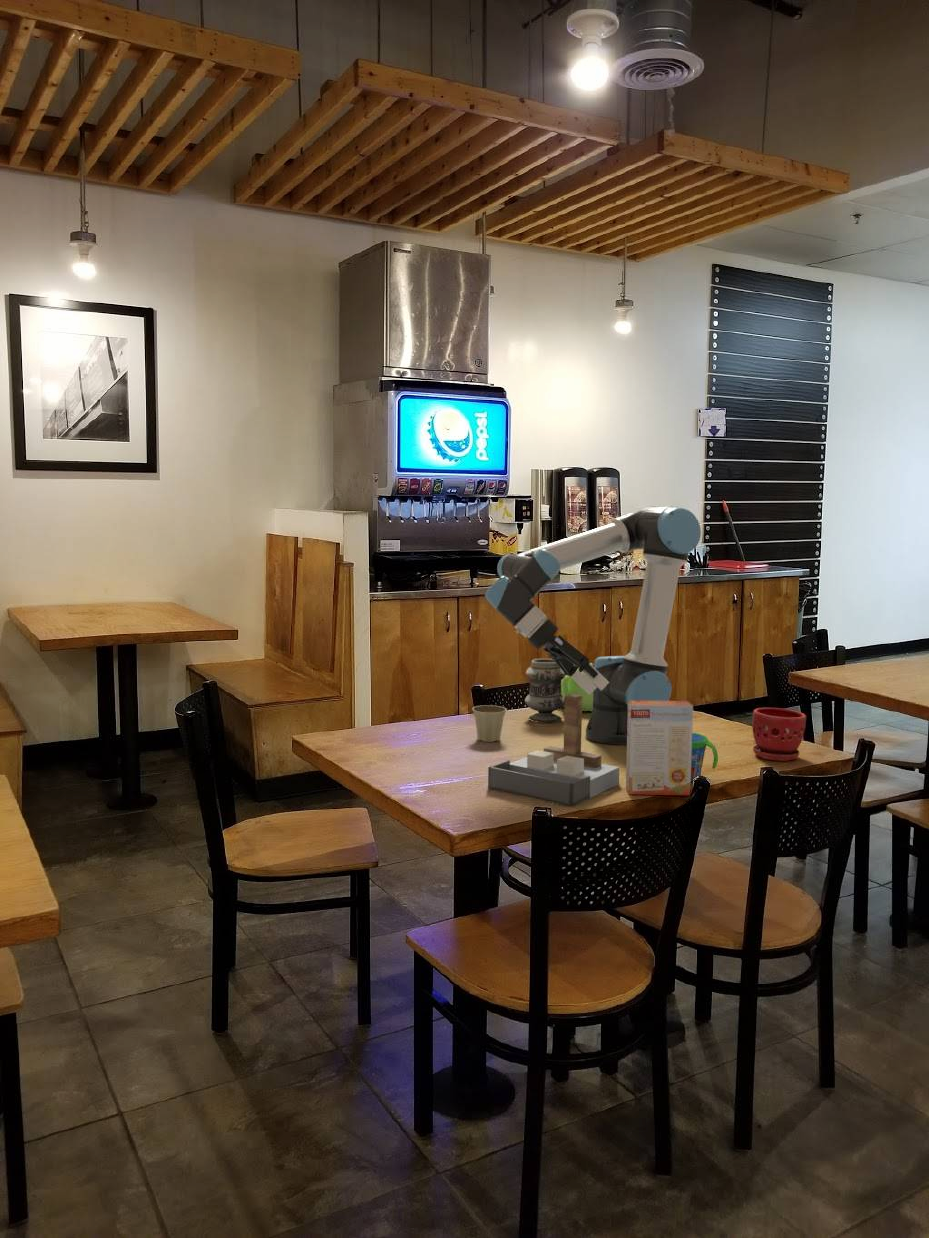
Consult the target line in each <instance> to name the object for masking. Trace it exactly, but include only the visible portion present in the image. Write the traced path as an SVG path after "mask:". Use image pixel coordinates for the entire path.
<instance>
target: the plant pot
mask: <svg viewBox="0 0 929 1238" xmlns="http://www.w3.org/2000/svg"><path fill="white" fill-rule="evenodd" d="M751 722H752V723H751V724H752V725H751V726H752V735H753V739H754V741H755V744H756V745H754V746H753V747H752V751H753V752H754V754H755V755H756V756H758V757H760V758H762V759H763V760H771V761H775V762H776V761H781V762H784V761H785V762H787V761H791V760H795V759H797V758H798V757H799V755H800V750H798V748H799V747H800V746H801V743H802V742H803V738H804V734H805V729H806V723H807V715H806V714H805V713H803V712H800V711H797V710H793V709H792V710H791V709H787V708H779V707H757V708H755V709H754V710H753V712H752V721H751ZM766 727H767V728H768V729H766ZM787 729H788V731H787Z"/></svg>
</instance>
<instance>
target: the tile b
mask: <svg viewBox="0 0 929 1238" xmlns="http://www.w3.org/2000/svg"><path fill="white" fill-rule="evenodd" d="M581 772H584V759H582V758H577V757H572V756H565V757H562V758H560V759H557V773H562V774H567V775H572V776H575V775H577V774H579V773H581Z"/></svg>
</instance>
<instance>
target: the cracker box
mask: <svg viewBox="0 0 929 1238" xmlns="http://www.w3.org/2000/svg"><path fill="white" fill-rule="evenodd" d="M693 715H694V705H693V704H692V703H691V702H690V701H689V700H668V701H649V700H629V701H628V722H627V744H626V774H625V775H626V776H625V779H626V780H625V788H626V791H627V792H628V795H630V796H631V795H635V796H637V795H640V796H641V795H642V796H645V795H646V796H649V795H650V796H691V785H692V784H691V782H692V781H691V756H692V733H693V724H694V723H693V720H694V719H693Z"/></svg>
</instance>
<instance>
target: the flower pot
mask: <svg viewBox="0 0 929 1238" xmlns="http://www.w3.org/2000/svg"><path fill="white" fill-rule="evenodd" d="M471 710H472V712H473V716H474V719H475V728H476V736H477V740H478V741H482V742H485V743H494V741H495V742H496V741H497V742H498V741H500V740H501V736H502V728H503V724H504V723H503V722H504V717H505V715H506V712H507V711H508V710H507V708H506V707H504V706H500V705H499V706H498V705H492V704H491V705H490V704H489V705H486V704H484V705H476V706H473V707H472V709H471Z"/></svg>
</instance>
